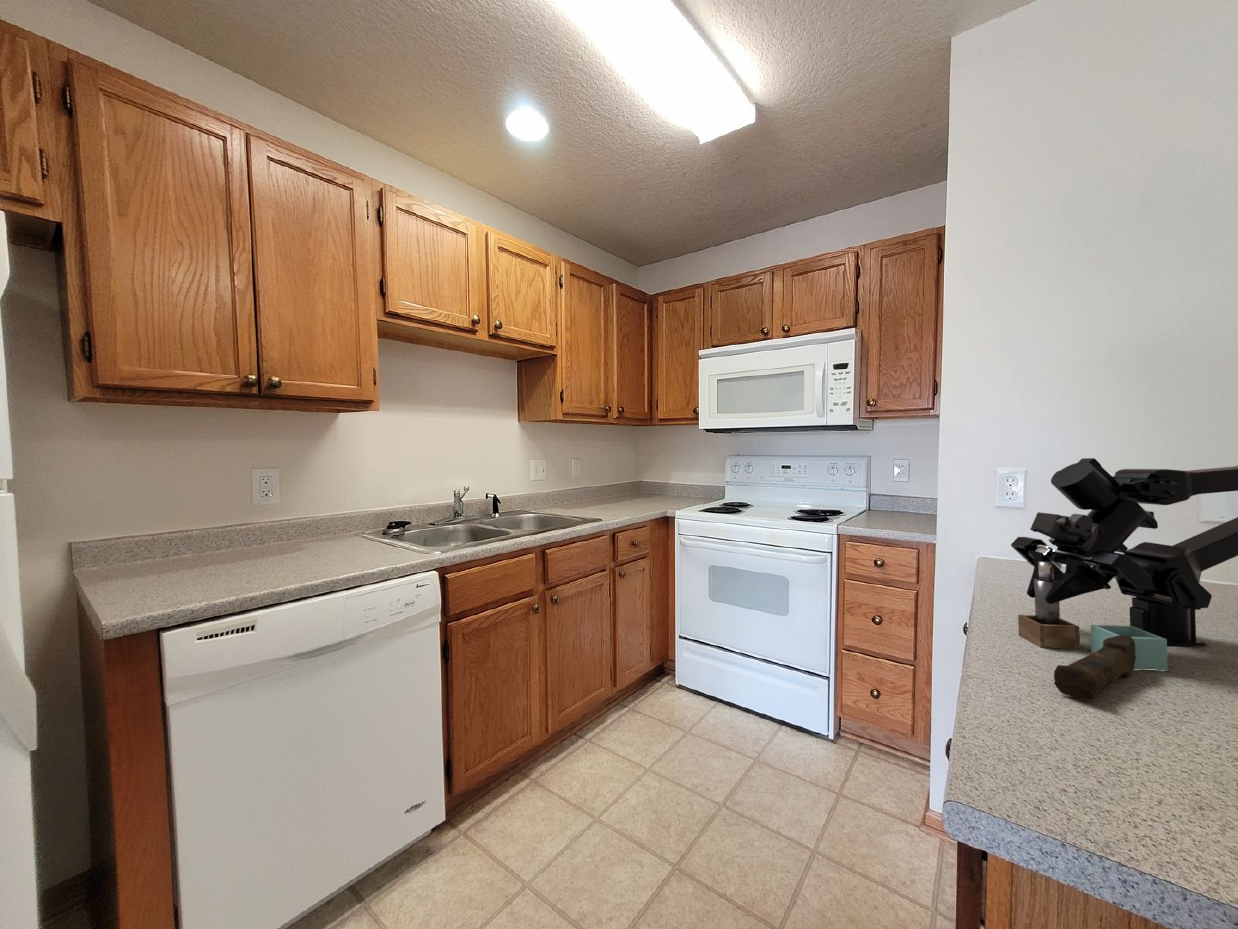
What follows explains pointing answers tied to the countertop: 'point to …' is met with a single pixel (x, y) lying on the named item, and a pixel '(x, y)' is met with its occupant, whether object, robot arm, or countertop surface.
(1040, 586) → the stepped grey cylinder
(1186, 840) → the countertop surface
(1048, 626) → the socket block
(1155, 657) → the hollow teal block
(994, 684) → the countertop surface
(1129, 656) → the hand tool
